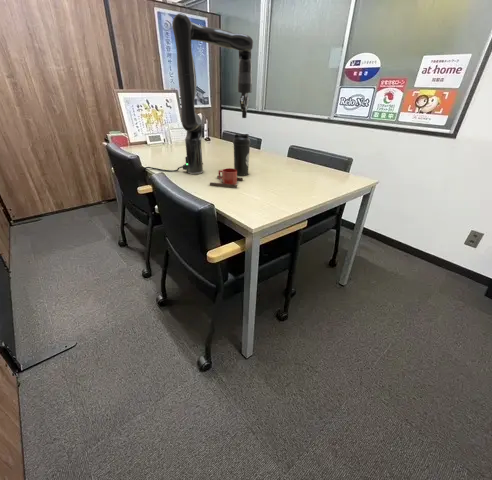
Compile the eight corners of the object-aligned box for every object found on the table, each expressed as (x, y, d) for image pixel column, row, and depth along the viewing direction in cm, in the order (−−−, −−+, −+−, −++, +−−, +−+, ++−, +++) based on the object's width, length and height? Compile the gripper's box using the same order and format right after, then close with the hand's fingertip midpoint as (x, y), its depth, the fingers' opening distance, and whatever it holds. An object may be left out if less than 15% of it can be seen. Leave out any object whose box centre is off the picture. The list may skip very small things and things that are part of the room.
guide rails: (209, 185, 143) (209, 182, 142) (217, 178, 154) (217, 175, 154) (236, 188, 140) (236, 185, 139) (242, 180, 151) (242, 177, 150)
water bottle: (247, 177, 157) (249, 135, 145) (231, 175, 159) (231, 135, 147) (250, 172, 166) (252, 133, 154) (234, 171, 167) (235, 132, 156)
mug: (239, 182, 149) (239, 169, 145) (232, 186, 142) (232, 173, 139) (222, 178, 153) (222, 166, 150) (214, 182, 147) (214, 170, 144)
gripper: (241, 82, 148) (240, 116, 157) (235, 82, 137) (234, 118, 146) (254, 82, 147) (253, 117, 155) (249, 82, 136) (248, 119, 144)
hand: (244, 117), depth 151 cm, fingers closed
